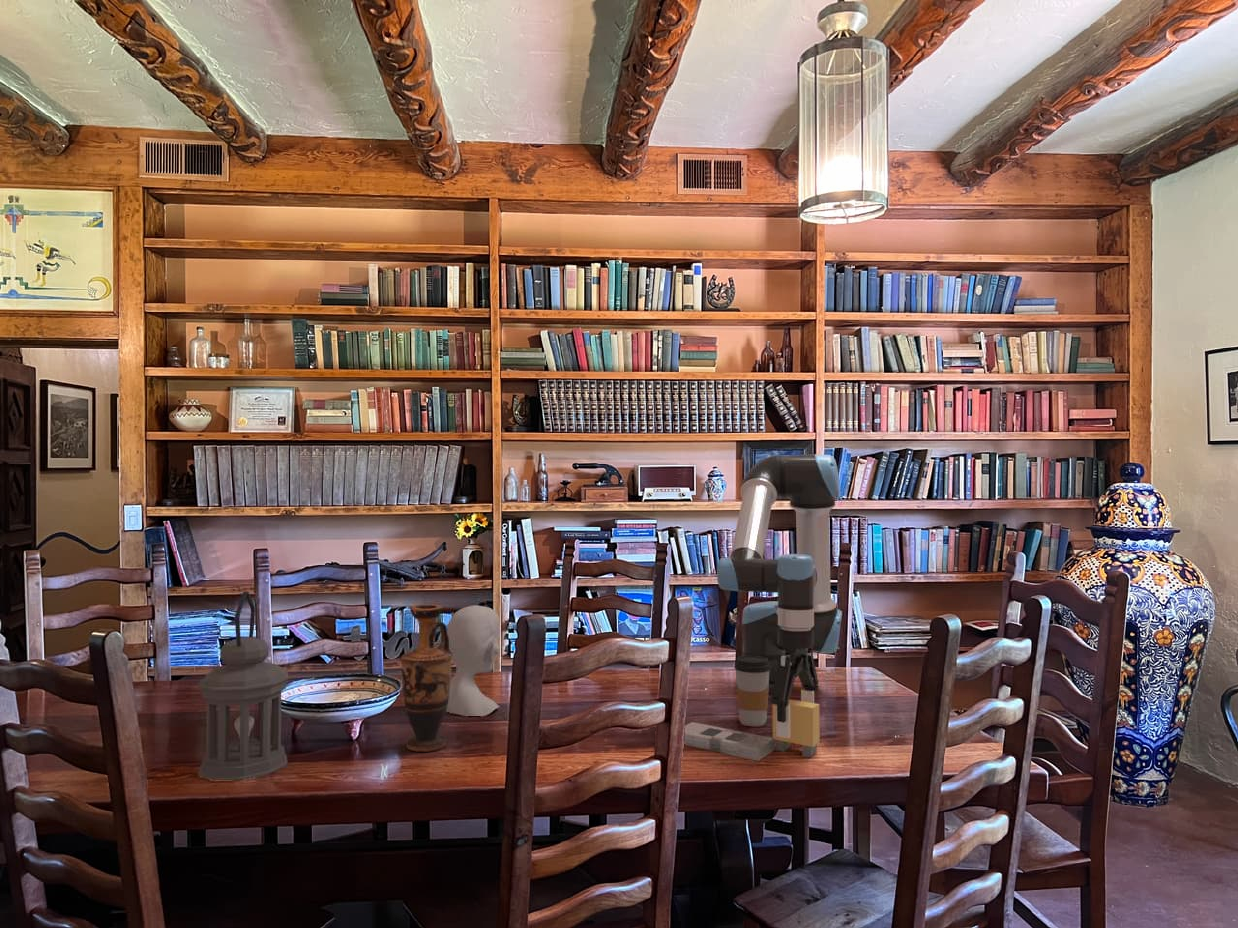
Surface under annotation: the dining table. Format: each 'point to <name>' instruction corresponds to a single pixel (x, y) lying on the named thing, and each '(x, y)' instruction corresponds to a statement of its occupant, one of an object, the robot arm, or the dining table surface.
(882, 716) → the dining table surface
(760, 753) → the grey slotted base plate
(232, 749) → the lantern
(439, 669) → the vase
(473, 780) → the dining table surface
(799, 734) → the yellow block
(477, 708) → the head bust
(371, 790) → the dining table surface
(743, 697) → the coffee cup
